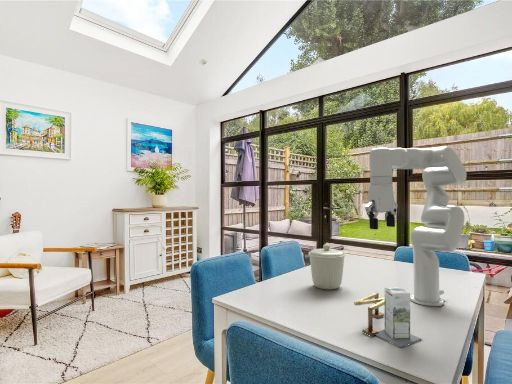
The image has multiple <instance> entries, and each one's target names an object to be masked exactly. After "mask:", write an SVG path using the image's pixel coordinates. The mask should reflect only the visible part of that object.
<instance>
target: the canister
mask: <svg viewBox="0 0 512 384" xmlns="http://www.w3.org/2000/svg"><path fill="white" fill-rule="evenodd" d="M307 255H308V256H309V263H310V270H311V271H310V272H311V278H312V284H313V285H314V286H315V287H316V288H318V289H321V290H327V291H329V290H330V291H331V290H336V289H339V288H340V287H341V285H342V280H343V273H344V263H345V257H346V255H347V254H346V253H345V252H343V251H342V250H339V249H335V248H331V245H330V244H329V243H325V244H323V246H322V248H314V249H312V250H310V251H309V252H308V254H307Z"/></svg>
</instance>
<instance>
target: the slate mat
mask: <svg viewBox="0 0 512 384" xmlns="http://www.w3.org/2000/svg"><path fill="white" fill-rule="evenodd" d="M378 331H379V333H377V334H375V335H376V336H375V337H377V336H378V337H377V338H379V337H380V338H379V339H381V338H382V339H381V340H383V339H384V340H383V341H385V340H386V341H385V342H387V341H388V342H387V343H389V342H391V343H393V344H395V345H397V346H399V347H398V348H400V347H402V348H404V347H403V346H405V347H407V346H406V345H408V344H410V345H412V344H411V343H413V344H415V343H418V342H420V341H422V337H419V336H416V335H414V334H412V333H410V339H393V338H391V337H390V336H389V335H388V334H387V333H386V332H385V328H384V329H382V330H378ZM417 341H418V342H417ZM414 342H415V343H414ZM391 343H390V344H391ZM393 344H392V345H393ZM395 345H394V346H395ZM397 346H396V347H397ZM408 346H409V345H408Z"/></svg>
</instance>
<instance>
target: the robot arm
mask: <svg viewBox="0 0 512 384" xmlns="http://www.w3.org/2000/svg"><path fill="white" fill-rule="evenodd" d="M414 169H415V170H416V169H417V170H418V169H424V170H423V171H422V181H423V184H424V187H425V190H426V194H427V195H426V200H425V203H424V206H423V208H422V212H421V217H420V220H421V223H422V224H423V225H424V226H417V227H415V228H413V229H412V230H411V232H410V242H411V247H412V254H413V260H412V261H413V294H410V302H413V303H415V304H418V305H422V306H427V307H439V306H440V307H441V306H444V304H445V302H444V300H443V298H441V295H444V294H445V291H444V290H443V289H440V259H439V257H438V256H437V254H436V252H435V251H437V252H443V253H453V252H455V251H457V249H458V246H459V243H460V239H461V235H462V231H463V228H464V225H465V213H464V210H463V209H462V208H461V207H460V206H458V205H451V204H450V205H449V202H450V196H449V195H448V193H447V191H446V190H445V189H444V188H443V187H442V186H458V185H462V184H464V183H465V181H466V180H467V170H466V168H465V166H464V164H463V162H462V161H461V159H460V157H459V155H458V154H457V152H456V151H455V150H454V149H453V148H452V147H451V146H446V145H445V146H438V147H430V148H426V147H424V148H421V147H410V148H409V147H408V148H402V147H396V148H388V147H377V148H372V149H371V150H370V151H369V179H370V184H369V188H368V192H367V204H366V205H365V206H364V210H365V212H366V214H367V218H368V219H369V229H370V230H379V218H378V215H379V214H381V213H385V214H386V217H385V219H386V221H385V222H386V227H389V228H395V226H396V214H397V211H398V210H397V208H398V203H397V202H395V194H394V187H393V170H414Z"/></svg>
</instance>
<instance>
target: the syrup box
mask: <svg viewBox="0 0 512 384" xmlns="http://www.w3.org/2000/svg"><path fill="white" fill-rule="evenodd" d="M410 296H411V293H410V292H409V291H408V290H406V289H405V288H402V287H384V298H385V305H384V329H385V332H386V333H387V334H388V335H389V336H390V337H391V338H393V339H410V334H411V300H410Z"/></svg>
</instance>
